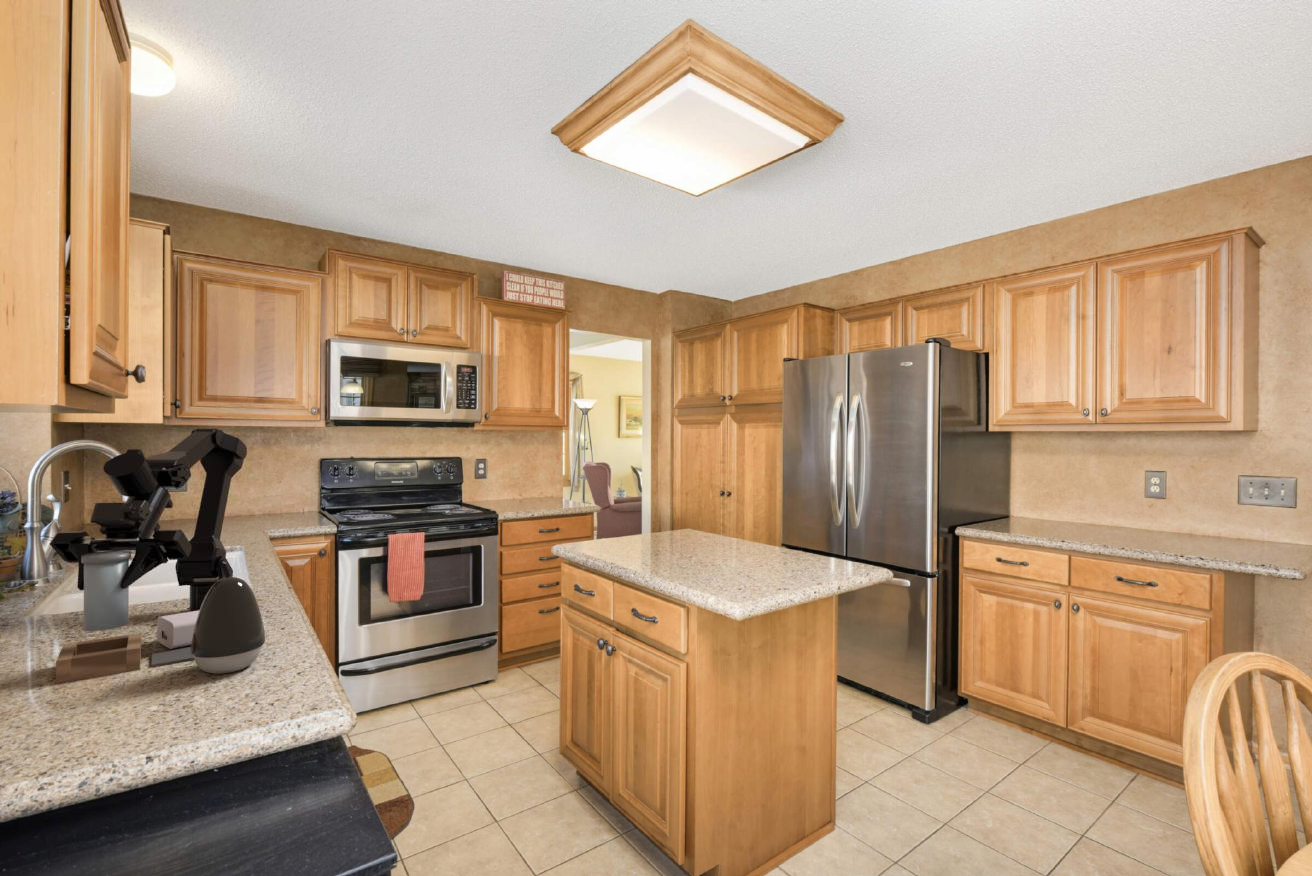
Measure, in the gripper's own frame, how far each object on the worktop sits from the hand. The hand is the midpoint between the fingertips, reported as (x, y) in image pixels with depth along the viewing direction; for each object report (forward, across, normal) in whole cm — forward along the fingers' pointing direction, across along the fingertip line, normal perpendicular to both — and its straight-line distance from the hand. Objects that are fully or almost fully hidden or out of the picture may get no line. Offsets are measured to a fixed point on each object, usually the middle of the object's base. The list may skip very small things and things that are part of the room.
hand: (101, 588), depth 102 cm
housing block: (+9, 0, +10) cm, 13 cm away
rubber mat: (+6, +9, +12) cm, 17 cm away
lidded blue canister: (+4, 0, +6) cm, 7 cm away
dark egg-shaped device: (+12, +20, +7) cm, 24 cm away
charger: (-1, +10, +20) cm, 22 cm away
